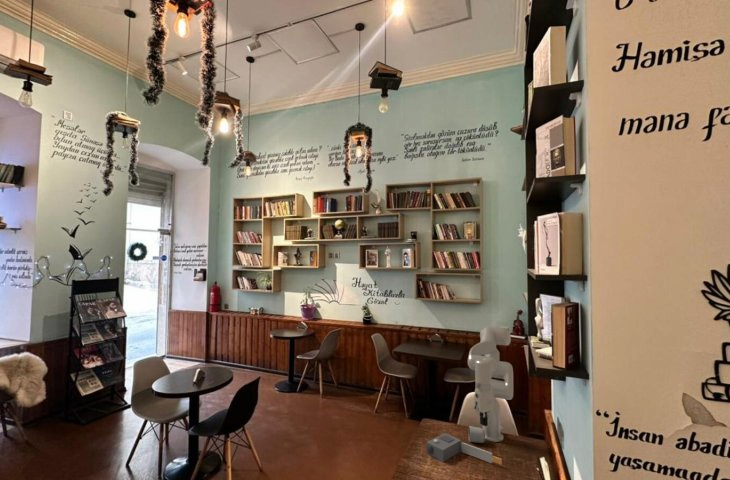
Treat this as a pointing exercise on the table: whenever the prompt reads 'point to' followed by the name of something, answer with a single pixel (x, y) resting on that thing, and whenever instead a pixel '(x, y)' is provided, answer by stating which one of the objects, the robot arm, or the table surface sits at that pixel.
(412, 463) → the table surface
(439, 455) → the grey control box
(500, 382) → the robot arm
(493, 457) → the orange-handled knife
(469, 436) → the ceramic mug
